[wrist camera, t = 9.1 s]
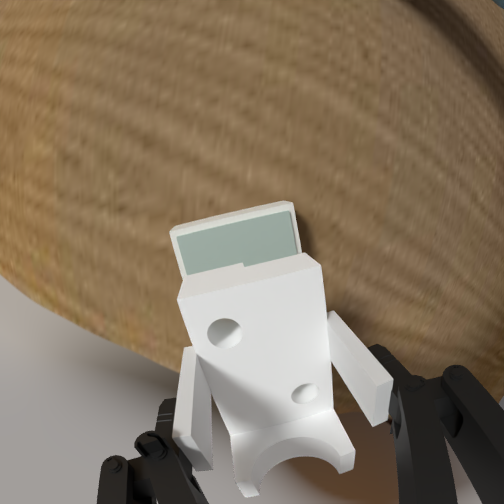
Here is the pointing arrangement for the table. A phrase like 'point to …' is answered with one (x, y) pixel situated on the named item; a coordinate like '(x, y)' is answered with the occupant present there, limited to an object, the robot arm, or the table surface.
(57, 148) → the table surface
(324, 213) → the table surface
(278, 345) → the bracket
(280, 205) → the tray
